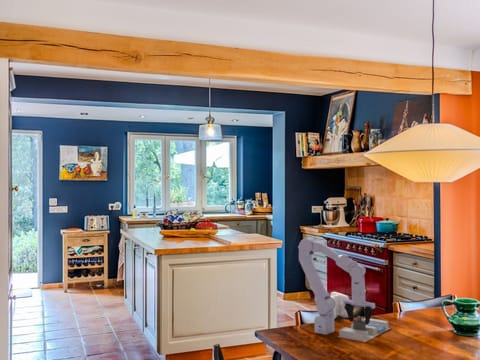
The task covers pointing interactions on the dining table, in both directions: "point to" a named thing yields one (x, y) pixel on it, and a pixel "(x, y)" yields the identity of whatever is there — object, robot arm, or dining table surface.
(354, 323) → the cord plug
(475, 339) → the dining table surface
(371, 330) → the grey stepped board
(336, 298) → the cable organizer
